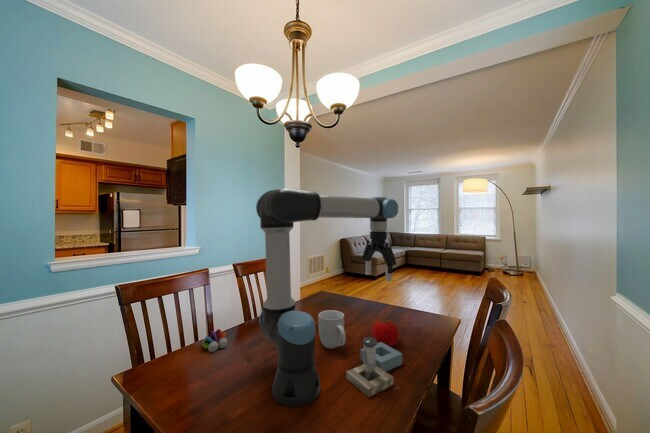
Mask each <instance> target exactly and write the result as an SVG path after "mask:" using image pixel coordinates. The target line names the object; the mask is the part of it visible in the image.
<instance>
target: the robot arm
mask: <svg viewBox="0 0 650 433" xmlns="http://www.w3.org/2000/svg"><path fill="white" fill-rule="evenodd" d="M255 207H256V208H255V210H256V214H257V216H258V217H259V219H260V229H261V230H262V231H263V233H265V234H264V237H265V238H264V241H265V269H266V270H265V272H266V274H265V275H266V299H265V301H263V303H262V310H261V311H260V314H259V319H258V322H259V327H260V329H261V331H262V332H263V334H264V335H265V336H266V337H267V338H268V339H269V341H271V342H272V344H274V346H275V347H277V368H276V371H275V376H274V377H273V378H274V379H273V381H272V390H271V391H272V392H271V393H272V397H273V399H274V400H275V401H276V402H277V403H278V404H280V405H283V406H286V407H290V408H291V407H292V408H297V407H302V406H306V405H309V404H311V403H313V402H314V401H315V400H317V398H318V397H319V396H320V392H321V381H320V377H319V374H318V371H317V367H316V348H315V347H316V332H317V331H316V323H315V319H314V317H313V316H312V315H311V314H309V313H308V312H306V311H301V310H297V308H296V300H295V299H294V298H293V297H292V286H291V284H292V283H291V282H292V280H291V249H290V248H291V246H290V244H291V243H290V242H291V241H290V232H291V230H292V229H294V223H299V222H307V221H317V220H318V219H320V218H325V219H326V218H327V219H328V218H329V219H330V218H332V219H333V218H335V219H336V218H338V219H340V218H341V219H345V218H346V219H369V220H370V221H369V222H370V223H369V230H370V231H369V237H370V238H369V240H368V239H367V240H366V244H365V248H364V250H363V253H362V256H361V258H362V260H364V263H365V264H364V267H365V275H366V276H370V275H372V260H371V259H372V257H373V256H374V254H375V253H376V252H379V253H380V254H381V256H382V258H383V259H384V261H385V263H386V265H385V282H391V281H392V274H393V267H394V266H397V261H396V258H395V255H394V251H393V249H392V242H386V241H387V238H388V232H387V230H388V219H393V218H395V217H396V216H397V215H398V213H399V205H398V202H397V201H396V200H395V199H393V198H387V197H385V196H372V197H371V198H368V197H355V196H338V195H326V194H324V195H322V194H319V193H318V191H311V190H303V189H298V188H291V187H282V188H279V189H271V190H269V191H266V192H264V193H263V194H261V195H260V196H259V197H258V199H257V202H256V205H255Z"/></svg>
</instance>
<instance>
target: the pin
mask: <svg viewBox="0 0 650 433" xmlns="http://www.w3.org/2000/svg"><path fill="white" fill-rule="evenodd" d="M362 345H363V348H364V362H363V364H364V374H363V377H364V378H365V379H367V380H368V381H371V380H373V379H375V378H376V345H377V340H376V339H375V338H373V337H372V336H366V337H364V338H362Z"/></svg>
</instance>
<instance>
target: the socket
mask: <svg viewBox="0 0 650 433" xmlns="http://www.w3.org/2000/svg"><path fill="white" fill-rule="evenodd" d="M359 358H360V361H361V362H363V363H364V347H363V348H360V357H359ZM401 365H403V353H401V352H400V351H399V350H397V349H395V348H393V347H389V346H388V345H386V344H384V343H382V342H379V343H377V345H376V366H377V367H379V368H380V369H382V370H383V371H385V372H386V373H387V372H388V371H391V370H392V369H395V368H397V367H399V366H401Z"/></svg>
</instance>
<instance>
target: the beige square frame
mask: <svg viewBox="0 0 650 433" xmlns="http://www.w3.org/2000/svg"><path fill="white" fill-rule="evenodd" d="M345 372H346V375H345V376H346V378H345V379H346V380H347V381H349V382H350V383H351V384H352V385H354V387H356V388H357V389H358V390H359V391H360V392H361V393H363V395H365V396H366V397H368V398H370V397H372V396H374V395H376V394H378V393H380V392H382V391H384V390H386V389H388V388H390V387H392V386H393V385H394V376H392V375H391V374H390V373H388V372H387V371H386V372H385V371H383V370H382V369H380V368H379V367H377V366H376V378H375V379H373V380H371V381H368V380H367V379H365V378H364V377H363V374H364V363H363V364H361V365H359V366H356V367H354V368H352V369H349V370H346V371H345Z"/></svg>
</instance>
